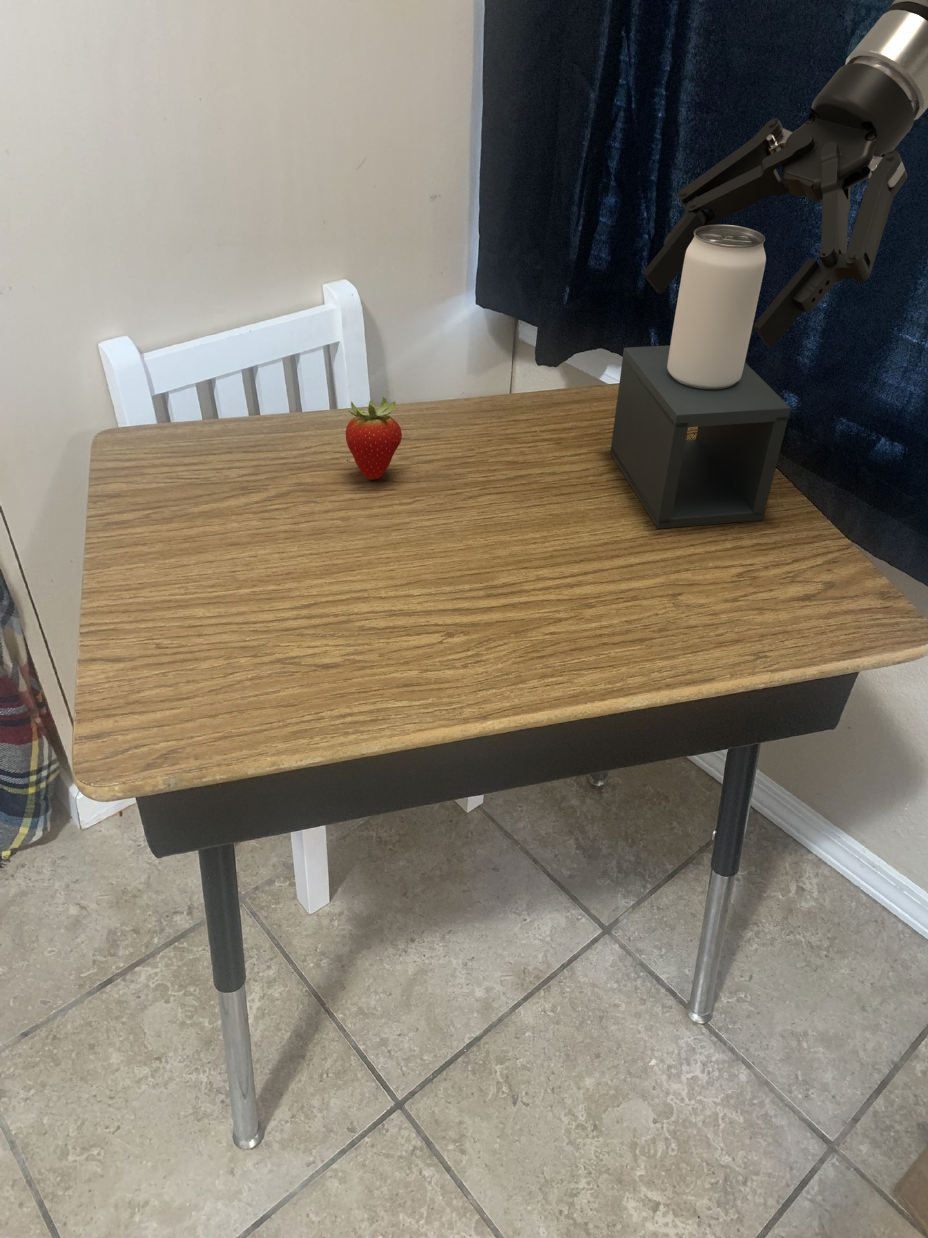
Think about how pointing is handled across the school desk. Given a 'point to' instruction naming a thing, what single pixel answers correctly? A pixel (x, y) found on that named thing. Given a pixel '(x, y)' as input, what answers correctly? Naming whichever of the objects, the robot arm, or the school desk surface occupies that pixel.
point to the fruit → (373, 438)
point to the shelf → (695, 443)
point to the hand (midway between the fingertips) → (703, 309)
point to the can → (716, 306)
